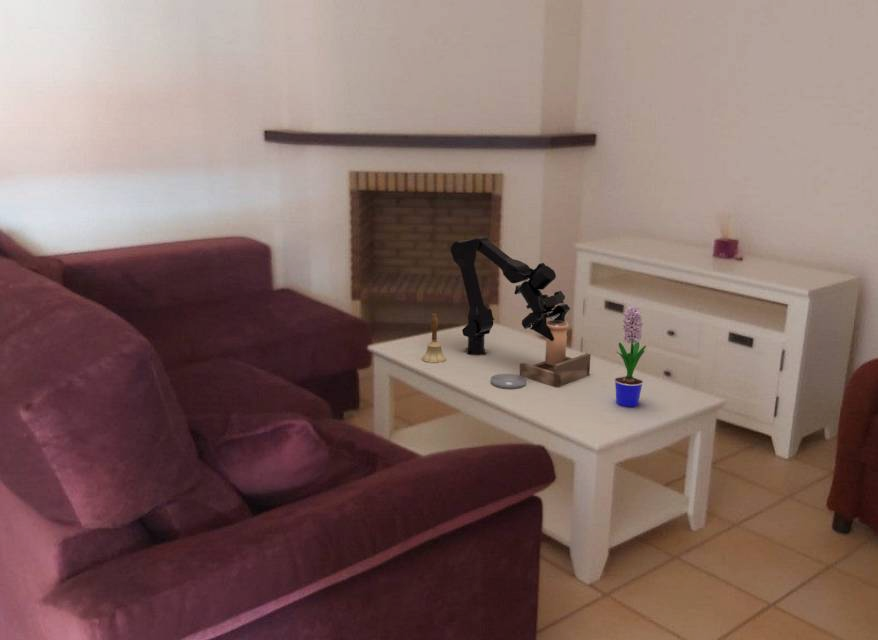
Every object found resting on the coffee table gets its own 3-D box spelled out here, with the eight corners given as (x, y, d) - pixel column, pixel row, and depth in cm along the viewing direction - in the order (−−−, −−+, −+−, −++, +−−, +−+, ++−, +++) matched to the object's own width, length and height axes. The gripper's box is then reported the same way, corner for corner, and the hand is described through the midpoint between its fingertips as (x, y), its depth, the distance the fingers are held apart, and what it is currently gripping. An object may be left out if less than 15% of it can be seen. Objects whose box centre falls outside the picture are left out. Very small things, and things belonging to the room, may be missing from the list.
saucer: (488, 377, 271) (488, 373, 271) (523, 377, 272) (523, 373, 271) (493, 389, 260) (493, 385, 260) (528, 389, 261) (528, 385, 261)
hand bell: (446, 363, 284) (447, 317, 280) (421, 363, 284) (422, 316, 280) (446, 355, 292) (447, 310, 288) (422, 355, 292) (422, 310, 288)
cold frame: (519, 375, 273) (520, 354, 271) (551, 364, 285) (553, 344, 283) (557, 387, 263) (558, 365, 261) (589, 374, 275) (590, 354, 273)
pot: (542, 359, 276) (543, 320, 272) (564, 358, 276) (566, 320, 273) (546, 366, 269) (548, 326, 266) (568, 366, 270) (570, 326, 266)
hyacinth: (648, 400, 253) (657, 302, 245) (635, 411, 245) (644, 310, 237) (621, 394, 258) (628, 298, 250) (607, 404, 249) (614, 305, 241)
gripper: (530, 288, 262) (557, 330, 258) (567, 279, 275) (593, 319, 271) (510, 307, 270) (535, 349, 265) (546, 298, 282) (571, 337, 278)
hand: (560, 338), depth 270 cm, fingers closed on pot, 7 cm apart
